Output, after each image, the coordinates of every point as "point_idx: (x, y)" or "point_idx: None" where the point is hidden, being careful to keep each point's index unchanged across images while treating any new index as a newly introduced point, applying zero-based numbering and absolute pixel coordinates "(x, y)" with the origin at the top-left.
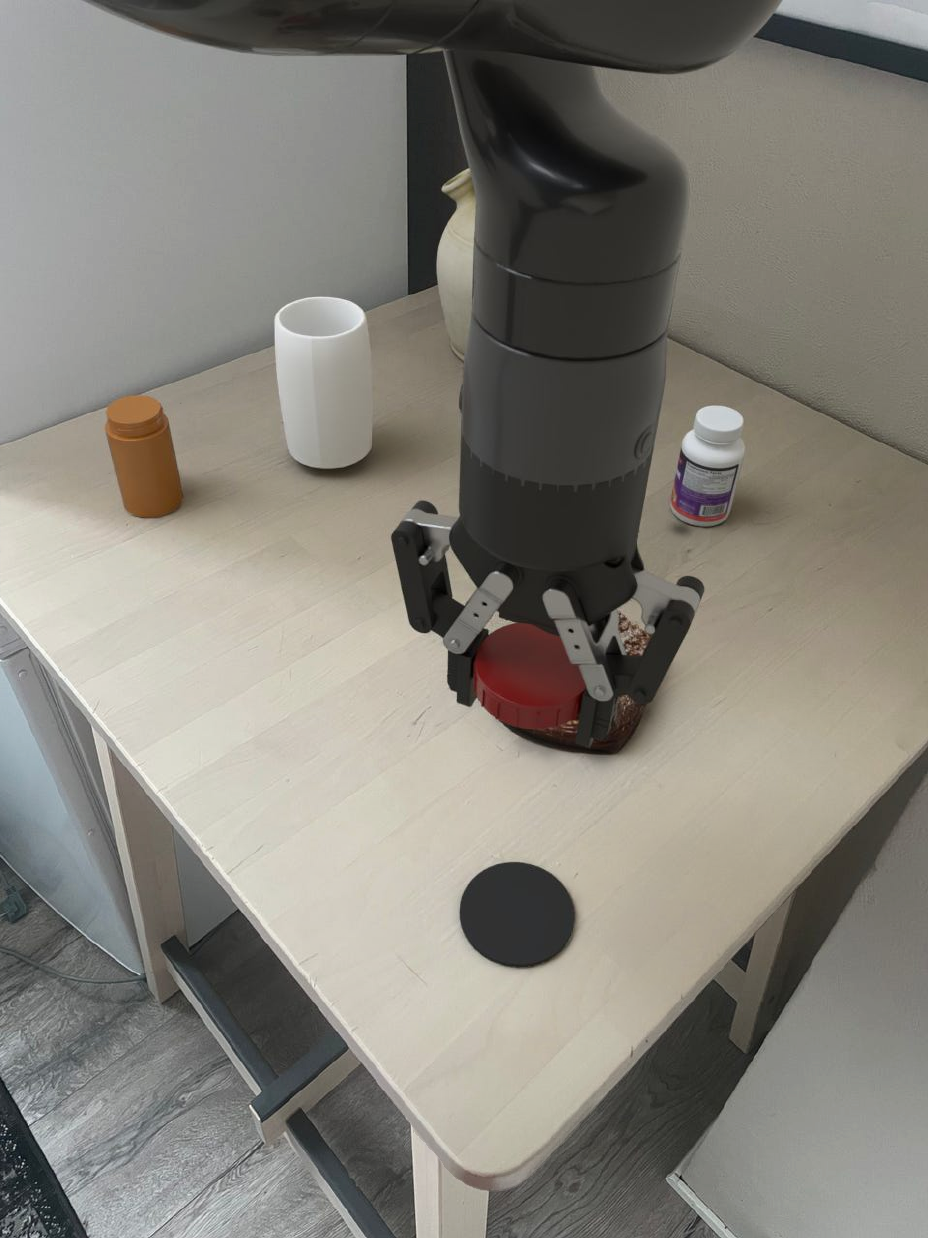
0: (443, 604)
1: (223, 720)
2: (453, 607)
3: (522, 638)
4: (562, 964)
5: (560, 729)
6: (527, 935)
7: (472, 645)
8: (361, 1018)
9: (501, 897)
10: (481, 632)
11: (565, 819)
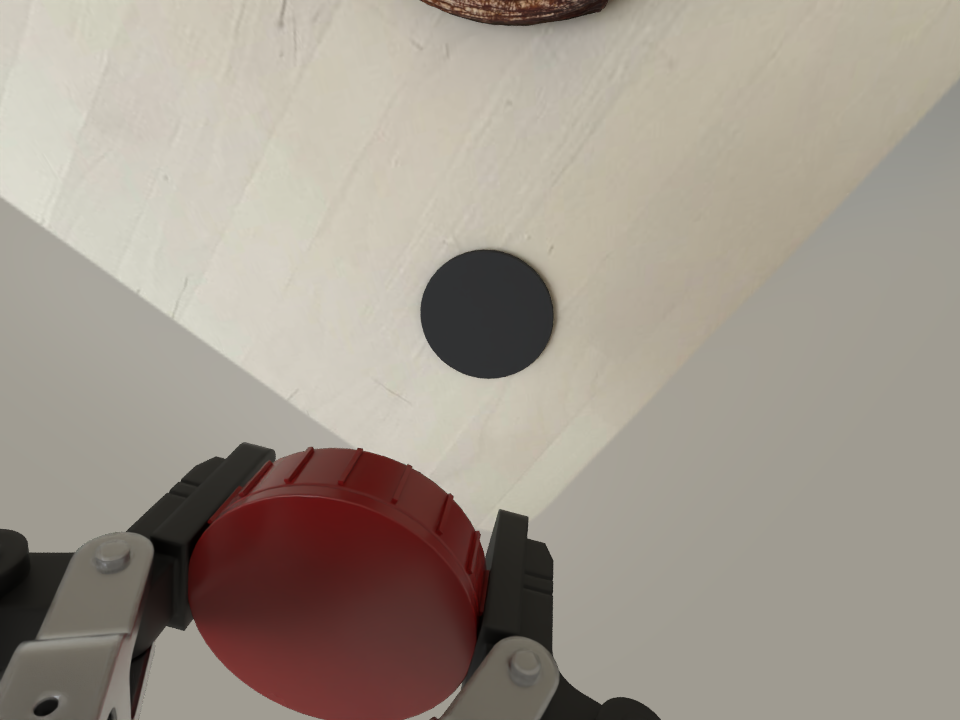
0: (1, 639)
1: (35, 91)
2: (35, 630)
3: (277, 553)
4: (544, 363)
5: (501, 17)
6: (501, 344)
7: (164, 622)
8: (361, 441)
9: (465, 303)
10: (169, 569)
11: (530, 163)
